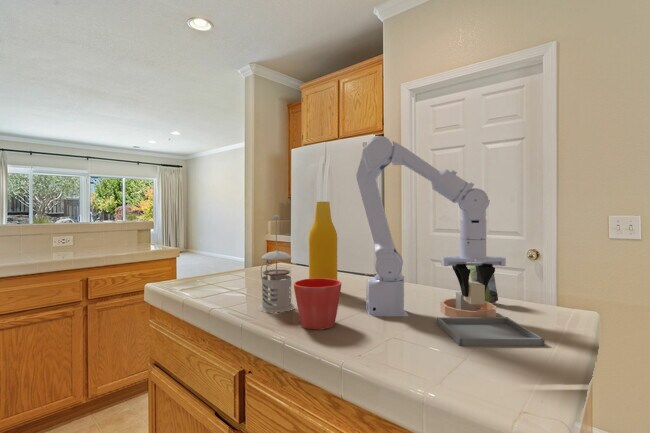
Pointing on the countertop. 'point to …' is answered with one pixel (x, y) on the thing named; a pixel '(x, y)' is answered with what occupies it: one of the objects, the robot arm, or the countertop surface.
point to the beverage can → (491, 287)
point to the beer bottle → (323, 244)
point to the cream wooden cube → (476, 293)
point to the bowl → (450, 310)
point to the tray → (488, 332)
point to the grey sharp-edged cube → (464, 303)
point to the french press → (276, 283)
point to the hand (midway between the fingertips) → (473, 295)
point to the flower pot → (317, 302)
